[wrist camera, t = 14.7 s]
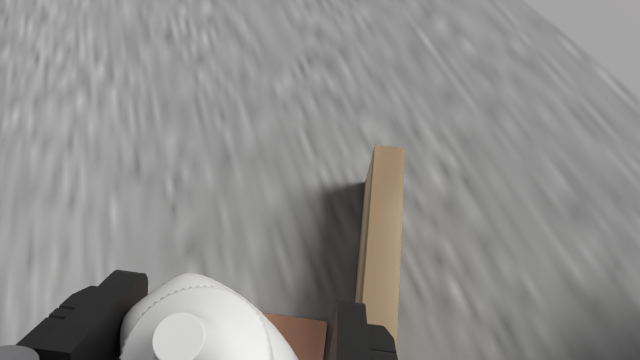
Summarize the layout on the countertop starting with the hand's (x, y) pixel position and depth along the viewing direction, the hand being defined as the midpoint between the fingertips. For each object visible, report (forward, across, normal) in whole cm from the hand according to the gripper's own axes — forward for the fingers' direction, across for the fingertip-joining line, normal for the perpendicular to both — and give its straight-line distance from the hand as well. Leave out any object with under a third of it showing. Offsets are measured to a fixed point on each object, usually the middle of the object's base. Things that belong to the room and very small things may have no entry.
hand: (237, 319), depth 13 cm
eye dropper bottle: (+3, 0, +6) cm, 6 cm away
